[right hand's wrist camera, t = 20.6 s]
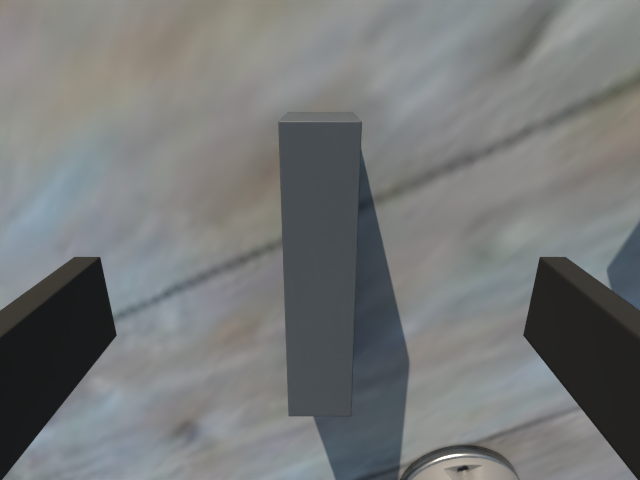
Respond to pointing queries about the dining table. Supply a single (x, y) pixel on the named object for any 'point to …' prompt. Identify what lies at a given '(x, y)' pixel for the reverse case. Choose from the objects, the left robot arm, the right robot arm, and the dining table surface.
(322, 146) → the bar
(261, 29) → the dining table surface
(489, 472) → the right robot arm
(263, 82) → the dining table surface
